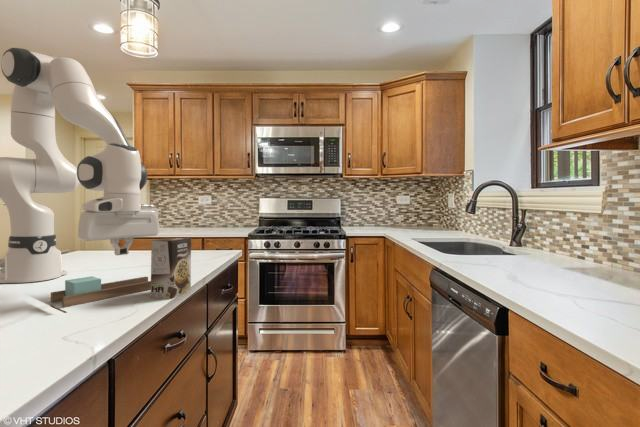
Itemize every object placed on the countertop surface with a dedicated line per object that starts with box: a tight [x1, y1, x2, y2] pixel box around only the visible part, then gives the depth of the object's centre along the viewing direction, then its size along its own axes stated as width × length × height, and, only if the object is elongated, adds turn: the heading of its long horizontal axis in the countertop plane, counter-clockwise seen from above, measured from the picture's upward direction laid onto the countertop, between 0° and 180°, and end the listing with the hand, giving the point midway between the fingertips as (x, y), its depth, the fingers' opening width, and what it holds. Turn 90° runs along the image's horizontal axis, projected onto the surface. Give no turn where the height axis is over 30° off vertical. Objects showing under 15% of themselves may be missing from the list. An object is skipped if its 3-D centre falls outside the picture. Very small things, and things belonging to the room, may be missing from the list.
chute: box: [50, 276, 151, 314], centre depth 93 cm, size 8×24×4 cm, turn 146°
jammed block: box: [64, 276, 102, 296], centre depth 88 cm, size 5×6×5 cm
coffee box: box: [150, 237, 192, 300], centre depth 95 cm, size 9×6×16 cm
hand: (121, 254), depth 96 cm, fingers closed
